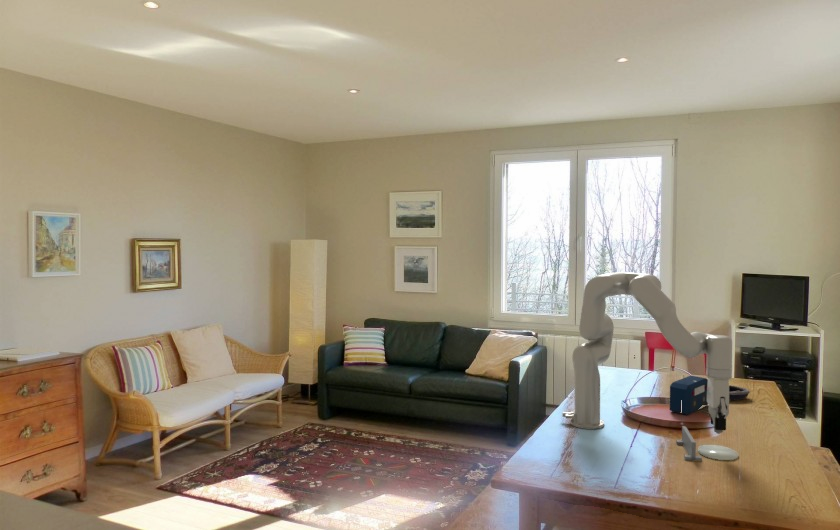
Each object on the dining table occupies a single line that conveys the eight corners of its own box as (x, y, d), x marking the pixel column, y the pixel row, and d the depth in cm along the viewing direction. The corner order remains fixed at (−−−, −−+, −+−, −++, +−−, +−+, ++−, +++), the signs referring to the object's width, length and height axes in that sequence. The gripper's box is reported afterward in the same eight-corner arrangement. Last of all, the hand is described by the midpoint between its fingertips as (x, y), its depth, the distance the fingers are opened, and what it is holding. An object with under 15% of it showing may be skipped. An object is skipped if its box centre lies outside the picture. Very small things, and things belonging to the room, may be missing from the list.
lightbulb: (731, 437, 192) (731, 404, 192) (710, 436, 194) (711, 403, 193) (725, 430, 198) (725, 398, 198) (705, 430, 200) (706, 398, 199)
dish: (753, 404, 251) (753, 392, 251) (675, 399, 260) (675, 388, 260) (745, 394, 266) (745, 383, 266) (671, 390, 275) (671, 379, 275)
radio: (688, 417, 235) (689, 367, 233) (667, 412, 241) (668, 364, 240) (711, 406, 248) (712, 359, 247) (690, 402, 255) (691, 356, 254)
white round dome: (702, 458, 192) (702, 456, 192) (694, 445, 204) (694, 443, 204) (742, 461, 189) (742, 459, 189) (732, 448, 201) (732, 446, 201)
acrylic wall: (685, 459, 191) (685, 441, 191) (676, 442, 207) (676, 425, 207) (701, 461, 190) (702, 442, 190) (691, 443, 206) (691, 426, 205)
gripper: (700, 366, 204) (700, 418, 205) (712, 378, 188) (712, 435, 189) (724, 367, 202) (723, 419, 203) (738, 379, 186) (738, 436, 187)
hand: (718, 426), depth 196 cm, fingers closed on lightbulb, 4 cm apart
